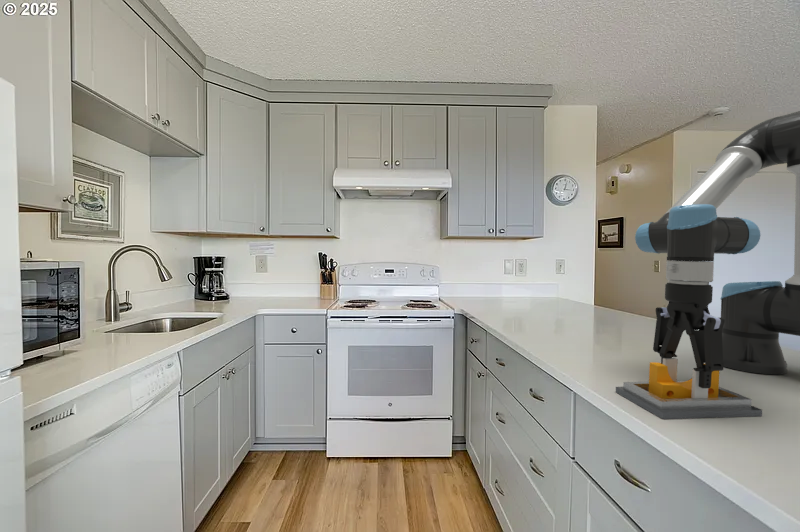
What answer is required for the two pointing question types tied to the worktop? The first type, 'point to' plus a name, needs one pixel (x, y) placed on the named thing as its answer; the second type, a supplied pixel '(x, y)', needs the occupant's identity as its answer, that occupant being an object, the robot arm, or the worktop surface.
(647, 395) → the rail plate
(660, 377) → the pipe clamp
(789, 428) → the worktop surface
